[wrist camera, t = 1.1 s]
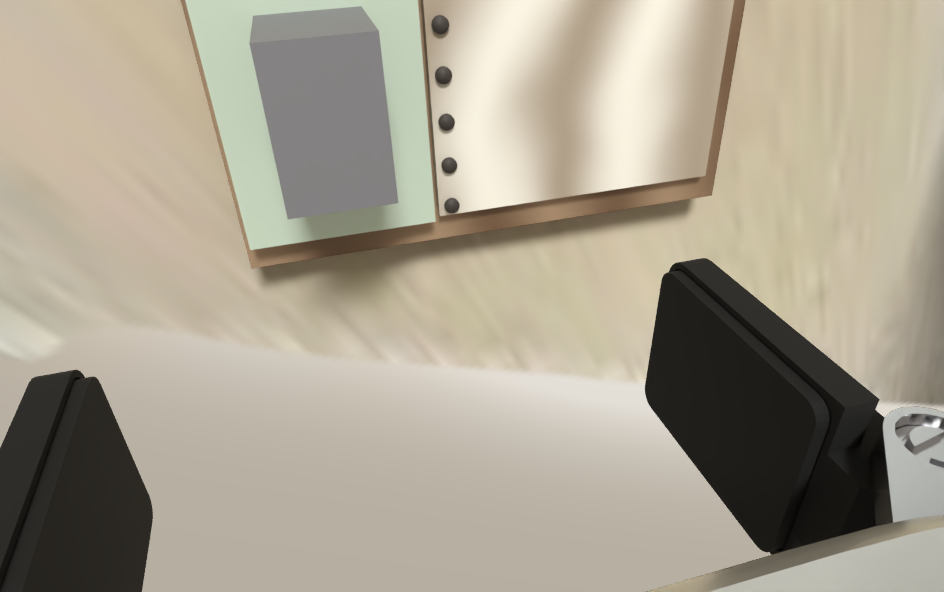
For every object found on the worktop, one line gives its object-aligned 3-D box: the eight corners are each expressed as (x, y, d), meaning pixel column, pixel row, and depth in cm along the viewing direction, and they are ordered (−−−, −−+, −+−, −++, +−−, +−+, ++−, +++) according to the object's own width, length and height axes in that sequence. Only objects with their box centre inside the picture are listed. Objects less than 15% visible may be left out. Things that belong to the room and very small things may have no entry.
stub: (405, -105, 24) (438, -102, 19) (432, 214, 31) (461, 274, 26) (164, -92, 22) (136, -84, 18) (250, 242, 29) (246, 311, 25)
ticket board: (745, -167, 28) (787, -172, 26) (692, 181, 37) (720, 201, 34) (152, -142, 23) (139, -145, 21) (252, 248, 32) (251, 276, 30)
